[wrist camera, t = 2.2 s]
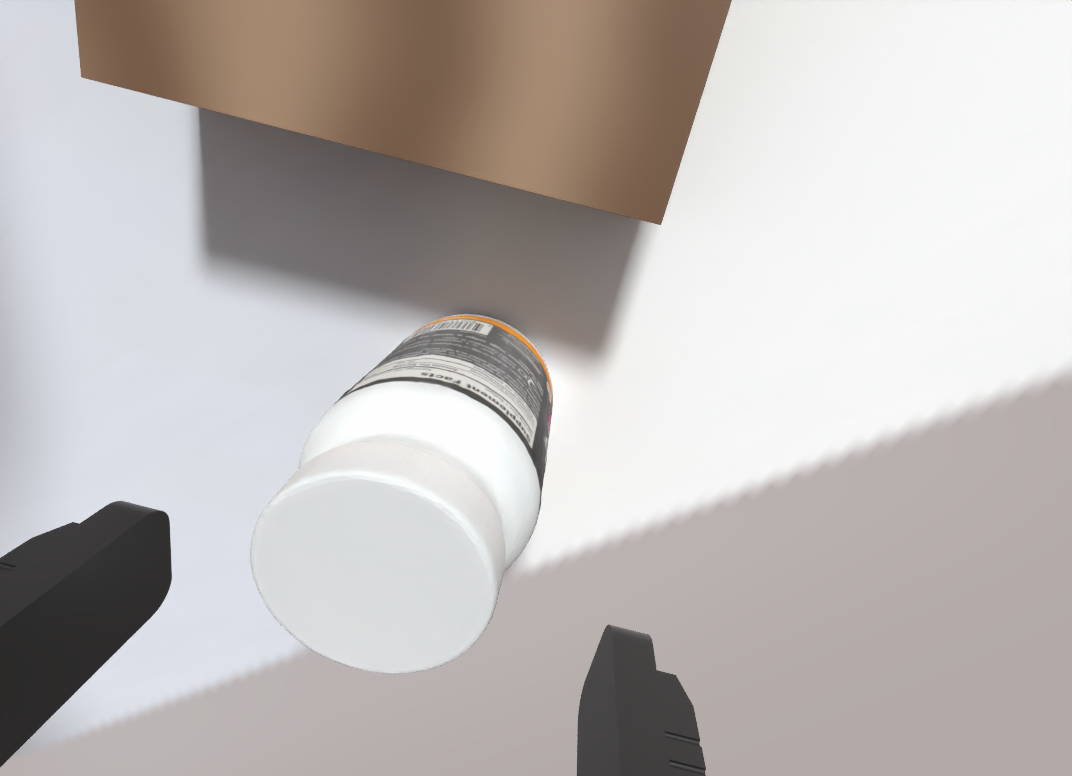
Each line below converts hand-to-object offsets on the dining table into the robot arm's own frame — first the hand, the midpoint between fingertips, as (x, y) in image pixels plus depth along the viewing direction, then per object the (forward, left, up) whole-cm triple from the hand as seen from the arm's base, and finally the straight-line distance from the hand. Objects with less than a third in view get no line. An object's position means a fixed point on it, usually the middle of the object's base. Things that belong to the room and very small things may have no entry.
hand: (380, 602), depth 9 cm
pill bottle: (0, 0, -10) cm, 10 cm away
